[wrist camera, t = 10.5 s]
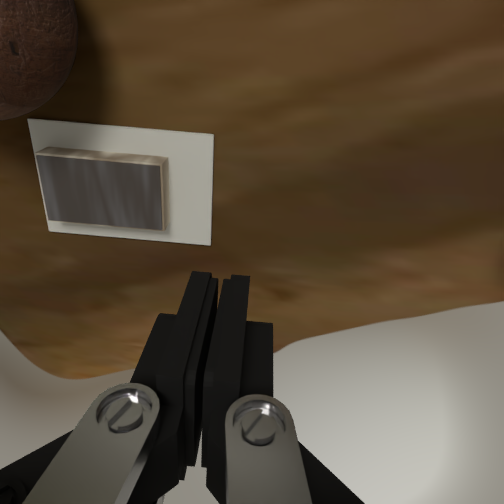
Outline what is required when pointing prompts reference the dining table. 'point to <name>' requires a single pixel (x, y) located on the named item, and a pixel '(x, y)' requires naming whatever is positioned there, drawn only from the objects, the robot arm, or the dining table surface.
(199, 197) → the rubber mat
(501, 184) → the dining table surface
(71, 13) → the wooden sphere
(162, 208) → the ash tile
